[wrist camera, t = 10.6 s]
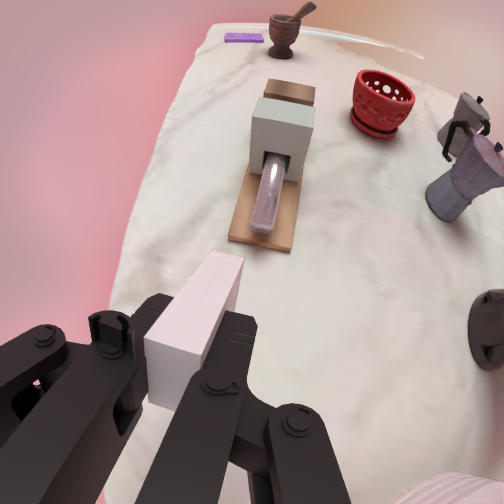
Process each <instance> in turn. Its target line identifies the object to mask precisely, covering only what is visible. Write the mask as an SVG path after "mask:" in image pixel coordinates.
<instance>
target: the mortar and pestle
mask: <svg viewBox="0 0 504 504" xmlns="http://www.w3.org/2000/svg"><path fill="white" fill-rule="evenodd" d="M315 9H316V5H315V4H314V3H312V2H308V3H306V4H305V5H304V6H303V7H302V8H301V9H300V10H299V11H298V12H297V13H296V14H295V15H294V16H289V15H281V14H280V15H278V14H277V15H276V14H274V15H271V16H270V25H269V34H270V39H271V40H272V41H273V43H274V46H272V47H271V48H270V49H269V51H268V53H269V55H271V56H272V57H275V58H281V59H286V58H291V57H292V56H293V52H292V50H291V49H290V48H289V46H290V45H291V44H293V43H294V42H295V40H296V38H297V37H298V34H299V28H300V24H301V20H300V19H301V18H303V17H304V16H306V15H307V14H309V13H311V12H312V11H313V10H315Z"/></svg>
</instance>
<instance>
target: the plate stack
mask: <svg viewBox="0 0 504 504" xmlns="http://www.w3.org/2000/svg"><path fill="white" fill-rule="evenodd" d="M390 504H504V482H503V481H497V480H492V479H486V478H482V477H477V476H473V475H469V474H465V473H461V472H446V473H442V474H439V475H436V476H433V477H431V478H429V479H427V480H425V481H423V482H421V483H419V484H417V485H416V486H414V487H412V488H411V489H409V490H408V491H406V492H405V493H403V494H402V495H401V496H399V497H398V498H397V499H395V500H394V501H393V502H391V503H390Z"/></svg>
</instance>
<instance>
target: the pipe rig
mask: <svg viewBox="0 0 504 504" xmlns="http://www.w3.org/2000/svg"><path fill="white" fill-rule="evenodd" d="M263 97H264V98H270V99H276V100H281V101H287V102H292V103H297V104H302V105H306V106H311V107H313V104H314V97H315V87H312V86H307V85H302V84H297V83H292V82H287V81H281V80H275V79H269V80H268V82H267V85H266V88H265V91H264V96H263ZM287 156H288V155H284V154H279V153H274V152H269V151H268V155H267V159H266V163H265V167H264V171H263V175H260V174H255V173H250V172H249V164H248V168H247V171H246V174H245V178H244V181H243V185H242V188H241V191H240V195H239V198H238V202H237V205H236V209H235V212H234V216H233V219H232V223H231V226H230V230H229V233H228V240H232V241H237V242H242V243H246V244H251V245H256V246H261V247H266V248H271V249H275V250H280V251H285V252H290V250H291V248H292V242H293V235H294V229H295V222H296V216H297V209H298V202H299V195H300V188H301V180H302V173H303V168H302V171H301V175H300V178H299V182H295V181H290V180H286V179H283V178H284V172H285V167H286V162H287ZM303 165H304V164H303Z"/></svg>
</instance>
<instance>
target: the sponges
mask: <svg viewBox="0 0 504 504" xmlns="http://www.w3.org/2000/svg"><path fill="white" fill-rule="evenodd" d="M225 42H256V43H263V42H264V39H263V36H262V34H258V33H257V34H255V33H248V34H247V33H225Z"/></svg>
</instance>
